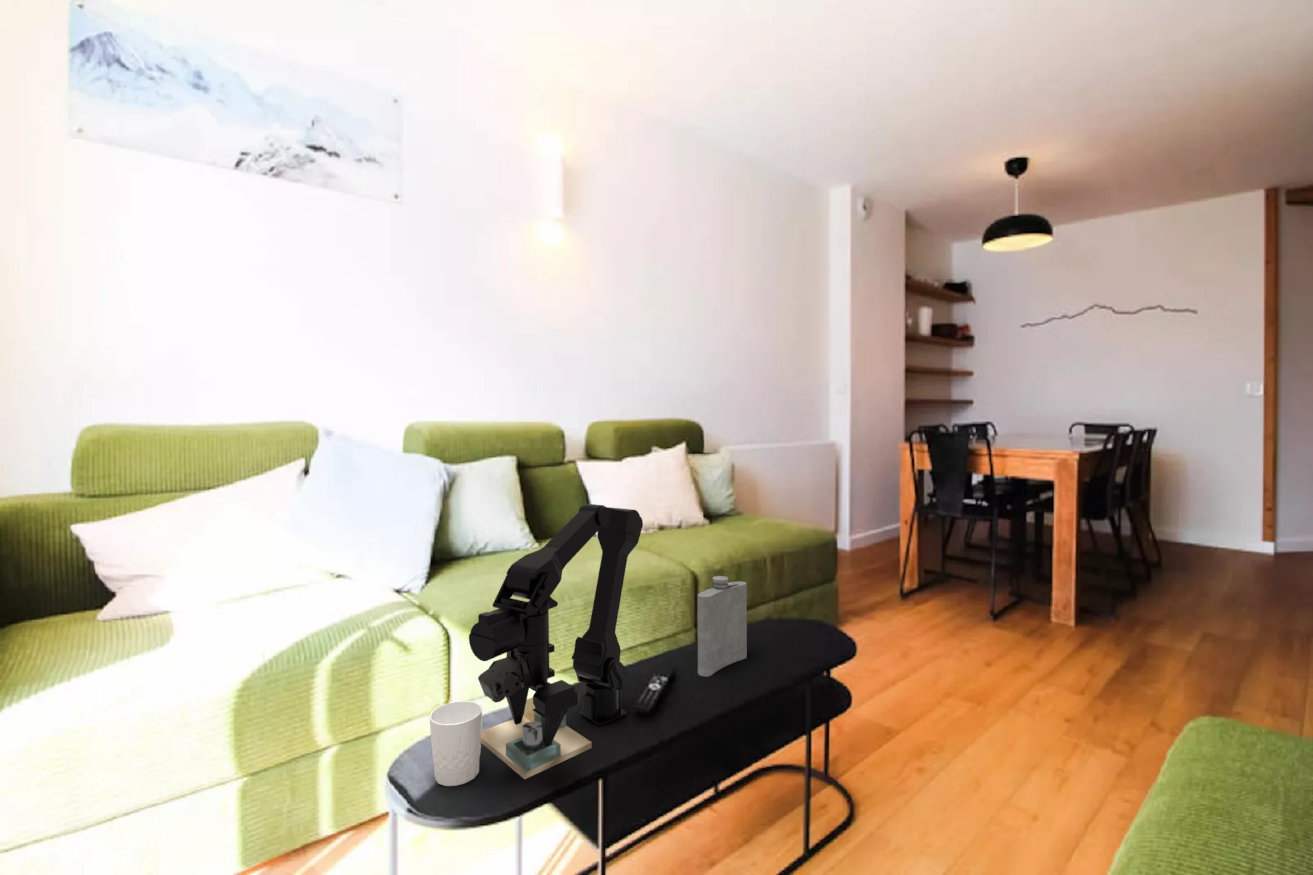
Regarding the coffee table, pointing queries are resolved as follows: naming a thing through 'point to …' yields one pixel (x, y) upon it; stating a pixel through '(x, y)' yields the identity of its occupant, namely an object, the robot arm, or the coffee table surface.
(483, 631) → the robot arm
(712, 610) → the hip flask
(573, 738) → the dock board
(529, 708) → the tan wooden block
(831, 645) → the coffee table surface
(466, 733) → the white cup
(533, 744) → the spigot peg
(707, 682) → the coffee table surface
